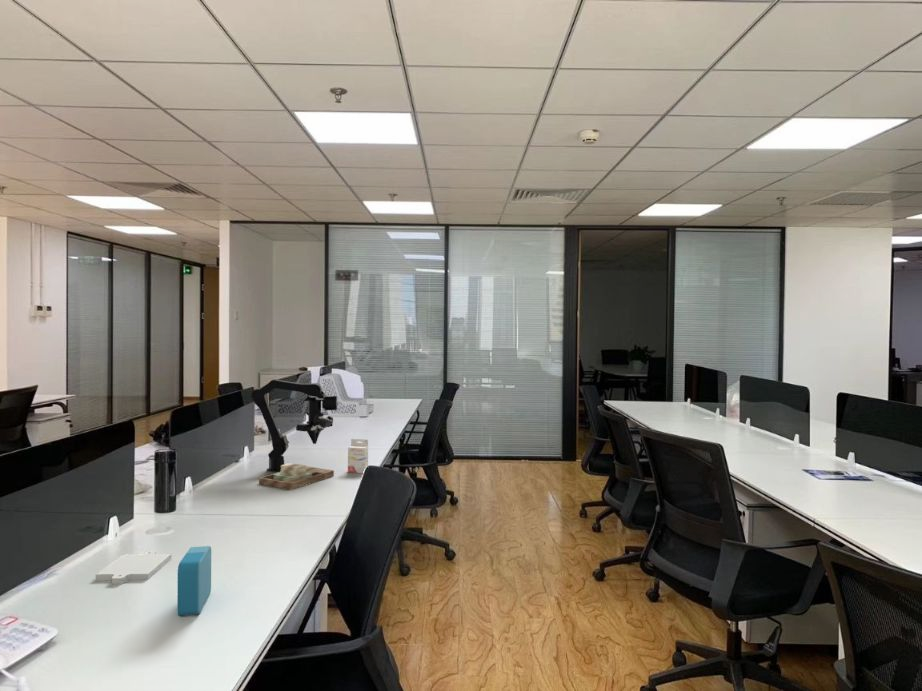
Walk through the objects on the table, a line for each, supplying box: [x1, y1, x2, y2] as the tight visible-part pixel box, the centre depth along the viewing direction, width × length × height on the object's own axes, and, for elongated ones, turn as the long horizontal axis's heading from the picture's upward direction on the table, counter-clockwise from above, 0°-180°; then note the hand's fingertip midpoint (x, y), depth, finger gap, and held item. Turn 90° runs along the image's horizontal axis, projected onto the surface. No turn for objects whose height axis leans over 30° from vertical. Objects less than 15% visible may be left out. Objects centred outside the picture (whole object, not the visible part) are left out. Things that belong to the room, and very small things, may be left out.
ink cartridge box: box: [347, 438, 369, 474], centre depth 258 cm, size 9×5×15 cm, turn 84°
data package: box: [176, 545, 212, 617], centre depth 130 cm, size 12×4×12 cm, turn 12°
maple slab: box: [280, 462, 307, 476], centre depth 243 cm, size 10×5×4 cm, turn 62°
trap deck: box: [258, 465, 335, 491], centre depth 243 cm, size 18×26×2 cm
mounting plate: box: [95, 550, 172, 585], centre depth 149 cm, size 18×13×2 cm
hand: (314, 443), depth 262 cm, fingers closed
